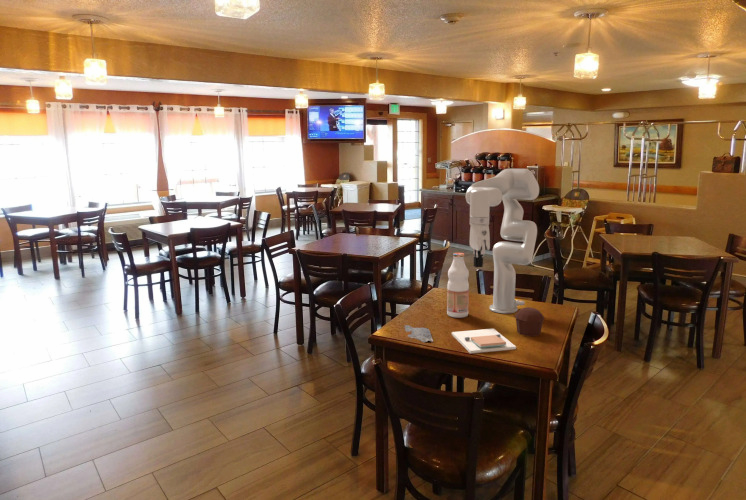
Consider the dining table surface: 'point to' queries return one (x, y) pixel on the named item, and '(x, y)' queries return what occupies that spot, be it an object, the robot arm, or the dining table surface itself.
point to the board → (470, 346)
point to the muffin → (529, 321)
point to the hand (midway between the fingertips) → (478, 266)
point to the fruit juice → (458, 287)
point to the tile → (488, 341)
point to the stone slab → (419, 333)
